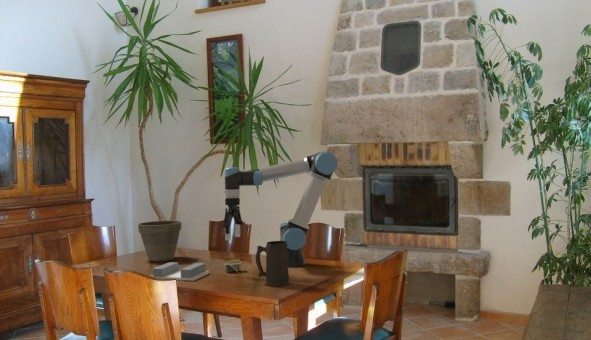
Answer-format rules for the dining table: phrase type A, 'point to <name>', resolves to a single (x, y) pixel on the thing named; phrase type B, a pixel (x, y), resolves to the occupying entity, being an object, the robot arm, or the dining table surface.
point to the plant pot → (160, 239)
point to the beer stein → (274, 263)
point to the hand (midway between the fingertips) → (233, 238)
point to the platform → (233, 265)
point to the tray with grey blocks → (180, 271)
